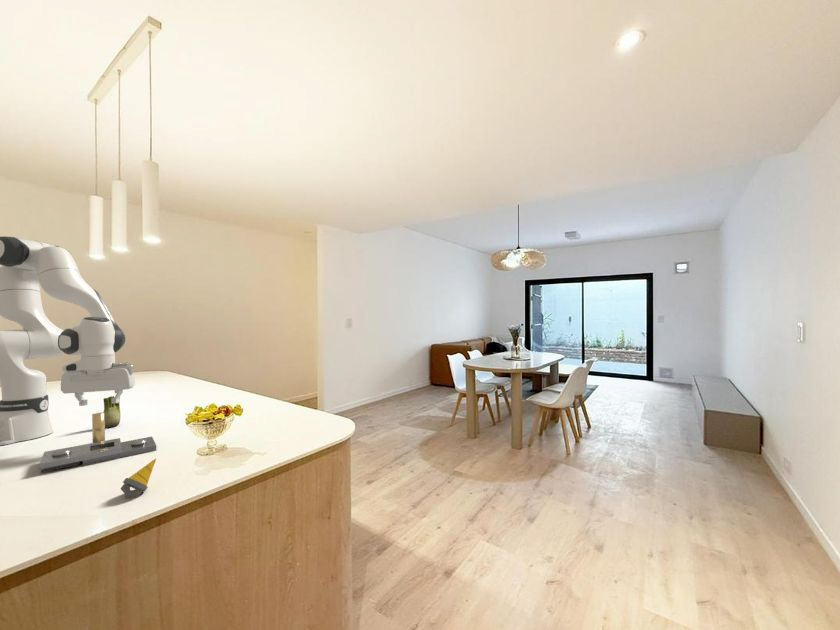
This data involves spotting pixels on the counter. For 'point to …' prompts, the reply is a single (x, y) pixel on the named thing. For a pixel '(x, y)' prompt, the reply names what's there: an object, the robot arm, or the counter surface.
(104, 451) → the gray mounting plate
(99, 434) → the brass pin
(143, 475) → the yellow pointed cone
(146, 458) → the counter surface
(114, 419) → the fennel bulb
